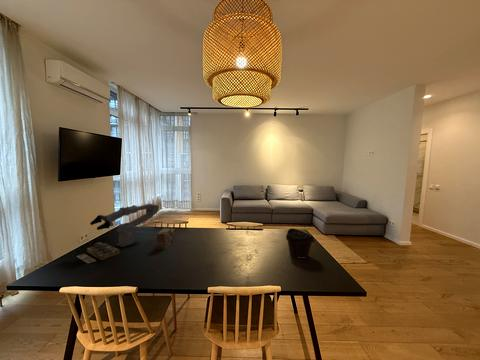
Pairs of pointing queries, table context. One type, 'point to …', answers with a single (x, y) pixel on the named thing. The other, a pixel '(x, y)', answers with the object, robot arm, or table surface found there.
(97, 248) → the button
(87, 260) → the pattern card
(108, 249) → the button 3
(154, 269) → the table surface
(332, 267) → the table surface
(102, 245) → the button
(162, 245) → the stack of blocks
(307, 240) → the black bin
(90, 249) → the wooden tray
